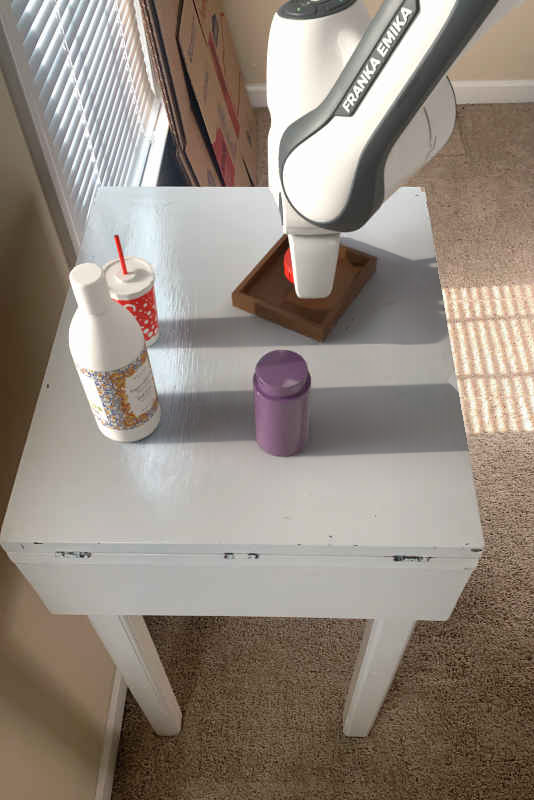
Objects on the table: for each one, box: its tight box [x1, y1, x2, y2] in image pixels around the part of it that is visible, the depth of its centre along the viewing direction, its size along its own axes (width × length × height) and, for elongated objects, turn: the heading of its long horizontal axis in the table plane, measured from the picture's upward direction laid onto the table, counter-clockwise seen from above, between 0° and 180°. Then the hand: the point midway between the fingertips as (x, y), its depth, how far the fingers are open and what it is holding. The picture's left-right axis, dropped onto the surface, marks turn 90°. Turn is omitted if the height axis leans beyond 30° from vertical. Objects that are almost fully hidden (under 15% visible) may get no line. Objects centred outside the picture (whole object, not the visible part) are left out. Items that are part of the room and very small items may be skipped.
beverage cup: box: [101, 234, 161, 348], centre depth 75 cm, size 6×6×14 cm
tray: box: [231, 232, 378, 344], centre depth 84 cm, size 14×12×2 cm
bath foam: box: [68, 262, 162, 443], centre depth 66 cm, size 7×7×20 cm
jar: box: [252, 349, 312, 458], centre depth 68 cm, size 6×6×11 cm
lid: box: [284, 248, 294, 284], centre depth 82 cm, size 6×6×2 cm
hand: (306, 273), depth 83 cm, fingers closed on lid, 6 cm apart
